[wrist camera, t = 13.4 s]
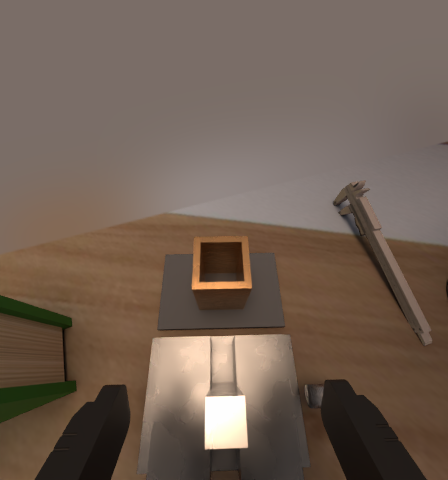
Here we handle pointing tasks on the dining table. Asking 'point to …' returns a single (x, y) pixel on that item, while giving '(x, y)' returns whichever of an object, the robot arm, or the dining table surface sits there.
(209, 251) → the copper collar
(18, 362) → the hardback book
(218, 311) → the slate pad
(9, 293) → the dining table surface
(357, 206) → the caliper
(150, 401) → the grey slotted block
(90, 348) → the dining table surface
